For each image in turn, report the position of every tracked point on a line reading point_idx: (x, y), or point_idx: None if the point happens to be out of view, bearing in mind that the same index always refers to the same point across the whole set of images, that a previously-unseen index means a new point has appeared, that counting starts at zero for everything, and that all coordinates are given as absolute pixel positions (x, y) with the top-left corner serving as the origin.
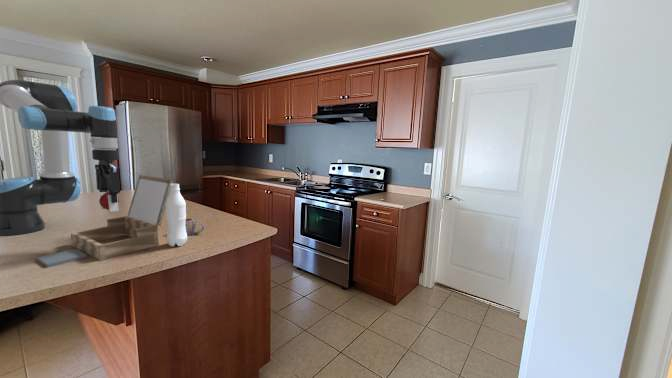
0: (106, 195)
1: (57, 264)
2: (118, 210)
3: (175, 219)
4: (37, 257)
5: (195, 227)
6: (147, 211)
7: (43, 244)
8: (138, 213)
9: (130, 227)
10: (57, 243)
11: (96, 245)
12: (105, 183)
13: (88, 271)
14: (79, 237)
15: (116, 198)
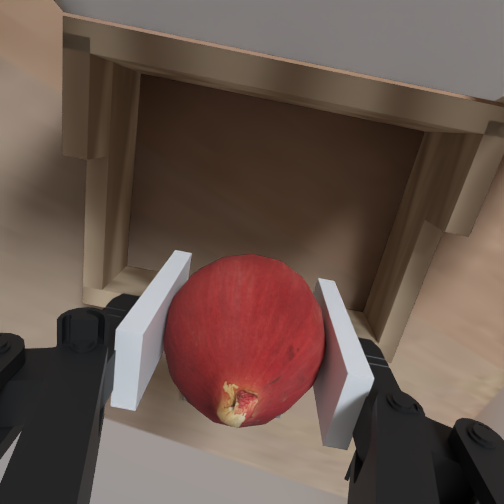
0: (272, 417)
1: None
2: (334, 282)
3: None
4: (185, 399)
5: None
6: (363, 18)
7: (8, 309)
8: (214, 14)
9: (190, 79)
10: (34, 284)
11: None
12: (87, 486)
13: (425, 390)
14: None
15: (389, 374)
